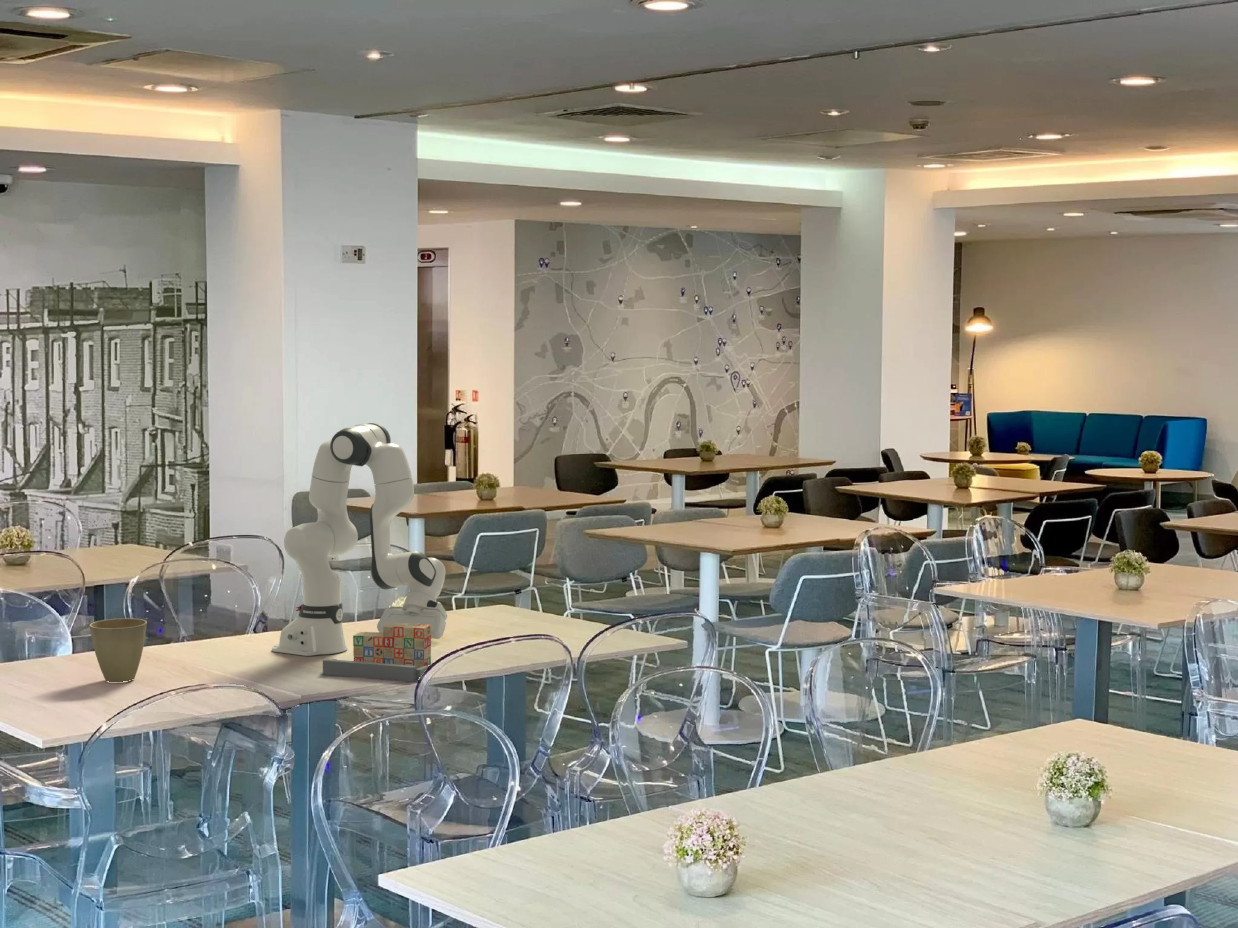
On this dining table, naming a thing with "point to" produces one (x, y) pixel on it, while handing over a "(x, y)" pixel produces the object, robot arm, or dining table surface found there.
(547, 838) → the dining table surface
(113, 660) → the plant pot
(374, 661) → the stack of blocks
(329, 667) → the frame
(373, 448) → the robot arm
